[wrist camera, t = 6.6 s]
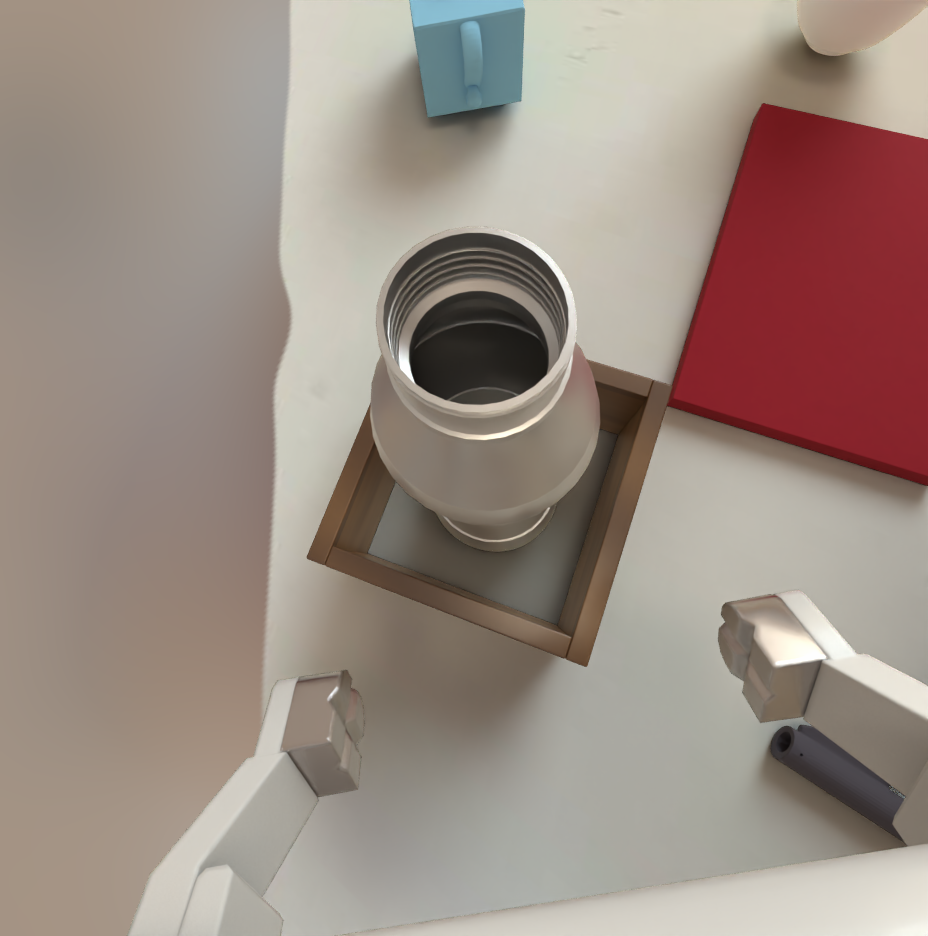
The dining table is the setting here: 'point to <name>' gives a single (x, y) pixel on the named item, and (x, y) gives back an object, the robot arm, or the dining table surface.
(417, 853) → the dining table surface
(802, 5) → the white air blower bulb
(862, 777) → the squeegee
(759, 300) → the cushion mat
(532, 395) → the metal bottle
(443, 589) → the wooden box
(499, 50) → the teapot
